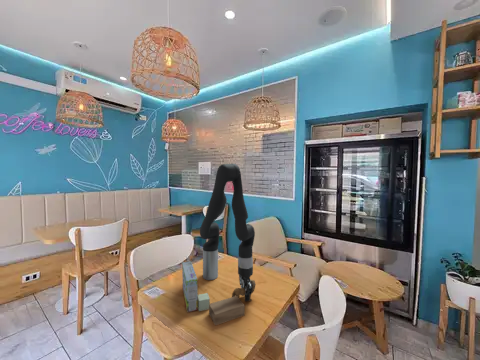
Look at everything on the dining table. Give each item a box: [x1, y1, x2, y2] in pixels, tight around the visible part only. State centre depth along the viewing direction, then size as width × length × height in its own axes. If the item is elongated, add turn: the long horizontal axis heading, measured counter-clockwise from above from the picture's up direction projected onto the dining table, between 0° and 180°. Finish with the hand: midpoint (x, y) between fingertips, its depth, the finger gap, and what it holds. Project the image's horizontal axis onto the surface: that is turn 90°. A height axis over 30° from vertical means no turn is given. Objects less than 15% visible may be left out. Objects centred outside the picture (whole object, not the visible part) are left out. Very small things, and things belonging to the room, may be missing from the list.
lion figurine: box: [231, 279, 256, 302], centre depth 105 cm, size 15×5×9 cm, turn 121°
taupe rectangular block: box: [208, 296, 246, 326], centre depth 95 cm, size 8×14×5 cm, turn 117°
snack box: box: [181, 260, 199, 313], centre depth 106 cm, size 21×6×15 cm, turn 21°
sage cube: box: [198, 292, 211, 312], centre depth 100 cm, size 5×5×5 cm
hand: (245, 297), depth 106 cm, fingers closed on lion figurine, 4 cm apart
